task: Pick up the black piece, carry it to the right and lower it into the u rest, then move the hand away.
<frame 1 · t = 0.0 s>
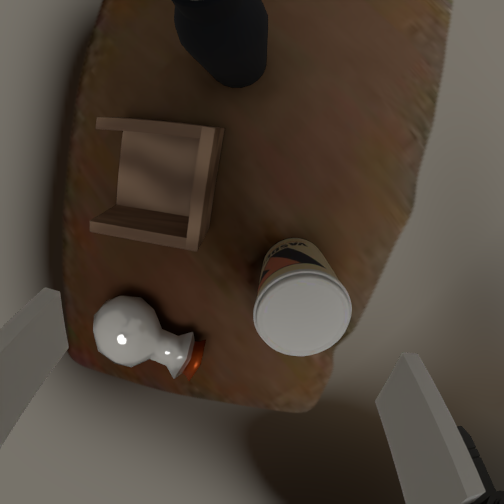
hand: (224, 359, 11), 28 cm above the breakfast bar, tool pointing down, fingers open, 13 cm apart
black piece: (237, 61, 32), on the breakfast bar
u rest: (166, 171, 36), on the breakfast bar
potion bottle: (156, 320, 44), on the breakfast bar
coffee cup: (293, 266, 40), on the breakfast bar
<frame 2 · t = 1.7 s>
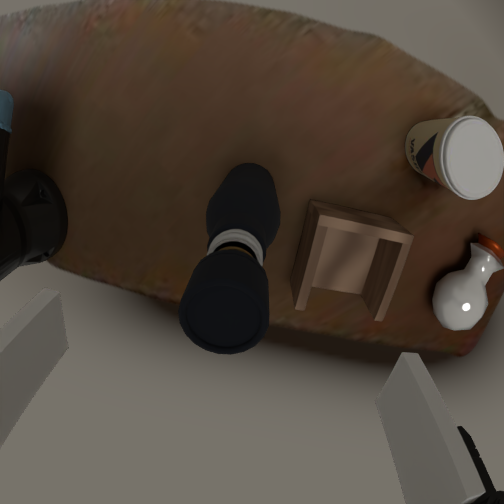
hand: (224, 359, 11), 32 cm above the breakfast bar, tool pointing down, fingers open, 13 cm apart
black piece: (249, 187, 41), on the breakfast bar
u rest: (341, 249, 44), on the breakfast bar
potion bottle: (455, 271, 45), on the breakfast bar
coffee cup: (427, 148, 38), on the breakfast bar
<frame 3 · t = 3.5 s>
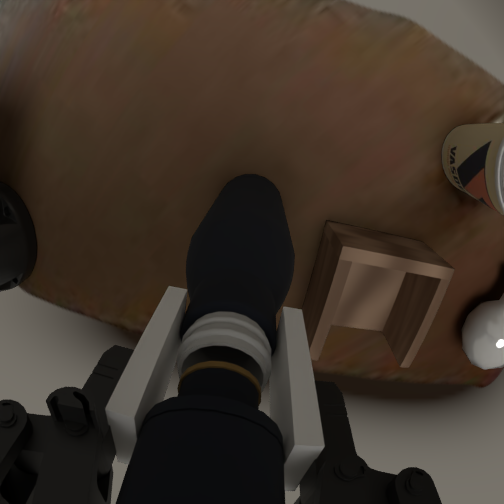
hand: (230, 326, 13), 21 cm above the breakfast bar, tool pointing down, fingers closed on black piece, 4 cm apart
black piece: (250, 204, 33), on the breakfast bar, touching gripper
u rest: (362, 280, 35), on the breakfast bar
potion bottle: (487, 299, 36), on the breakfast bar
coffee cup: (466, 157, 30), on the breakfast bar
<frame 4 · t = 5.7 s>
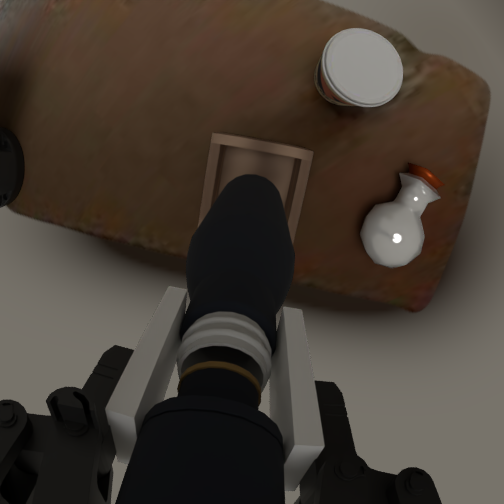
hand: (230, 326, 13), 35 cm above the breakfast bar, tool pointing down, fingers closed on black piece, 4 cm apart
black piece: (250, 204, 33), point 13 cm above the breakfast bar, touching gripper
u rest: (255, 180, 45), on the breakfast bar
potion bottle: (390, 208, 46), on the breakfast bar
coffee cup: (340, 80, 40), on the breakfast bar
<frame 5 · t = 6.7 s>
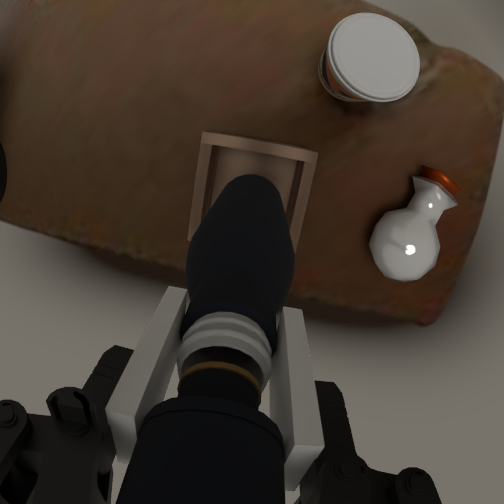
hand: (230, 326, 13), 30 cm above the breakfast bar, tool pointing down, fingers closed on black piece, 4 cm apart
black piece: (250, 204, 33), point 9 cm above the breakfast bar, touching gripper
u rest: (252, 184, 41), on the breakfast bar
potion bottle: (401, 215, 42), on the breakfast bar
coffee cup: (346, 73, 35), on the breakfast bar
when the fingers open (23 cm above the breakfast bar, at t = 8.1 s): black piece drops 1 cm, resting on u rest.
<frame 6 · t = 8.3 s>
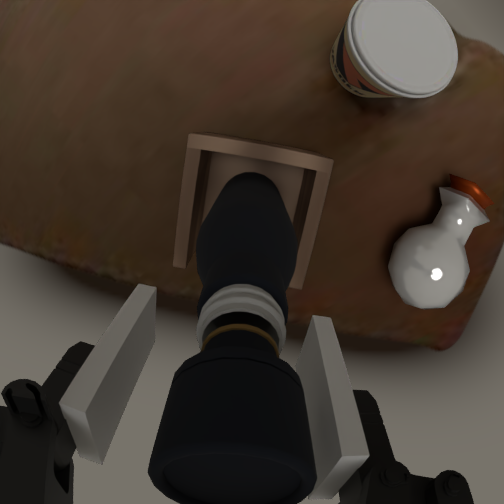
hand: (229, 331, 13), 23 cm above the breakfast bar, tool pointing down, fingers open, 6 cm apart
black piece: (250, 201, 34), point 1 cm above the breakfast bar, touching u rest
u rest: (251, 196, 34), on the breakfast bar
potion bottle: (423, 231, 35), on the breakfast bar
coffee cup: (363, 64, 29), on the breakfast bar
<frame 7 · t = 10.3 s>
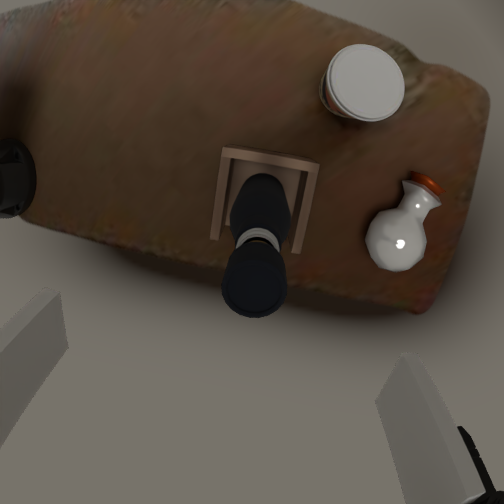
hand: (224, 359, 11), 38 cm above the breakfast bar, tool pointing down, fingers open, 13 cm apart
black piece: (262, 194, 47), resting on u rest
u rest: (263, 190, 47), on the breakfast bar
potion bottle: (393, 214, 48), on the breakfast bar
coffee cup: (344, 91, 41), on the breakfast bar
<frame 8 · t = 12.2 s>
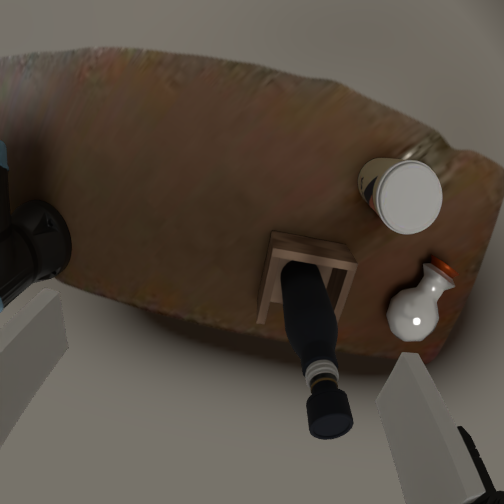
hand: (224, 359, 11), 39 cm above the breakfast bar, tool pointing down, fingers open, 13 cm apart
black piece: (300, 275, 52), resting on u rest
u rest: (300, 272, 52), on the breakfast bar
potion bottle: (411, 288, 53), on the breakfast bar
coffee cup: (380, 181, 46), on the breakfast bar
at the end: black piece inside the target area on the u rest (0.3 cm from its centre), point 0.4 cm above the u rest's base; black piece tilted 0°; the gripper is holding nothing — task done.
